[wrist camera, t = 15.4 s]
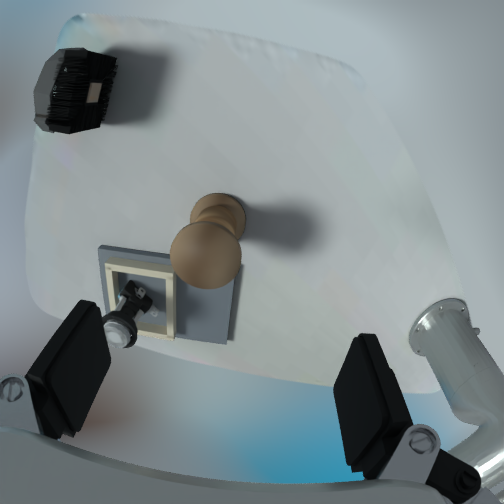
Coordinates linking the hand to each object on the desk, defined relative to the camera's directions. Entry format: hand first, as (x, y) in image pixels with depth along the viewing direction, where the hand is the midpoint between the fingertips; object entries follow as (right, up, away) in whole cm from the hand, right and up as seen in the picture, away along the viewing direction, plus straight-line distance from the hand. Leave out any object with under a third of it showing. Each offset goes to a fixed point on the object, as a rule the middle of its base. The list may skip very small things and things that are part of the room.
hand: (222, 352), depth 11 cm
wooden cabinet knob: (-3, +8, +29) cm, 31 cm away
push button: (-15, -3, +34) cm, 37 cm away
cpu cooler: (-19, +24, +22) cm, 38 cm away
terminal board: (-12, -3, +35) cm, 37 cm away
